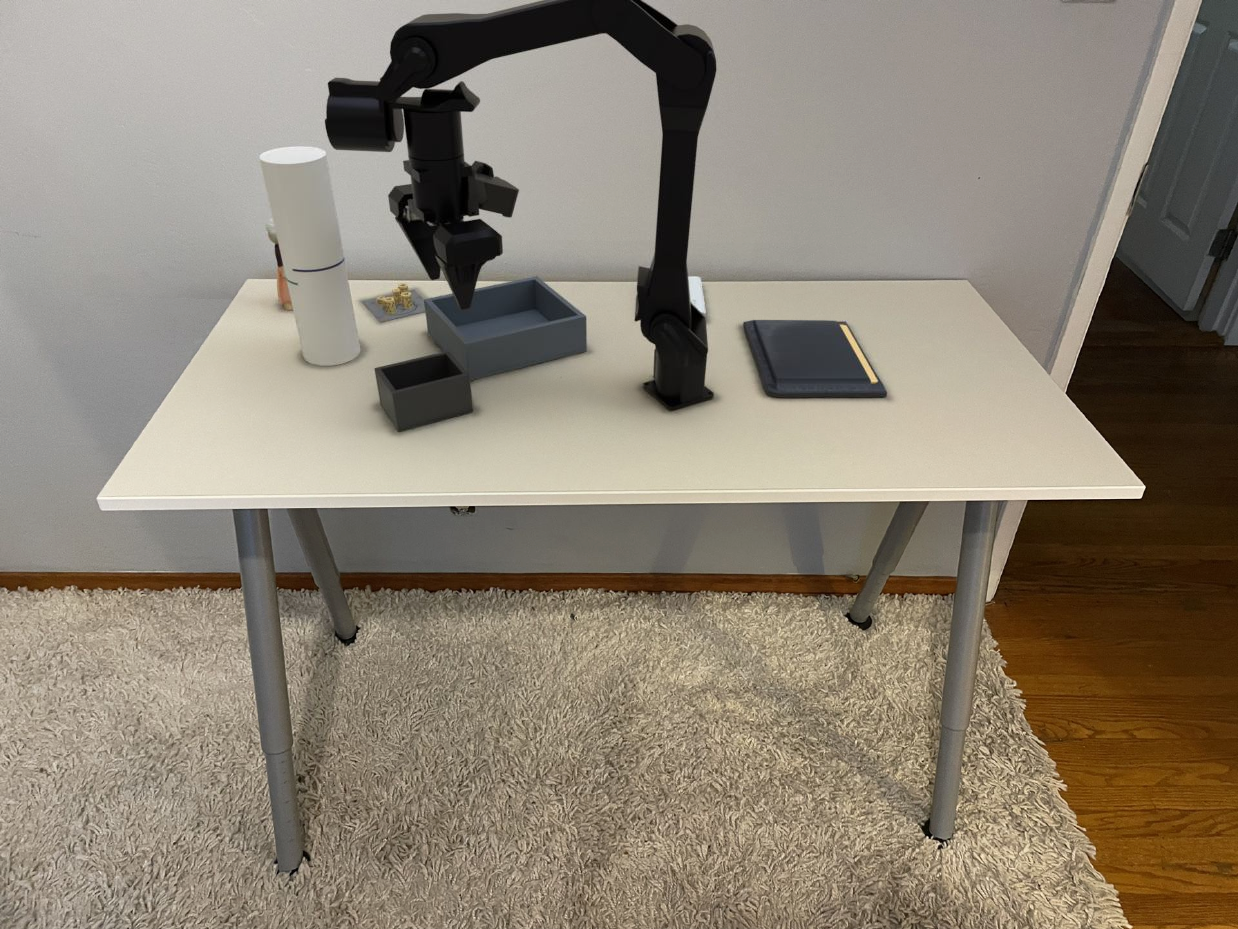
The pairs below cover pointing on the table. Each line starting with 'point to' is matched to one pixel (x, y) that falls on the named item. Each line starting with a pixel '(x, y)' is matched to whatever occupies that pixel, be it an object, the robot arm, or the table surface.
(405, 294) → the dice set
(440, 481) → the table surface
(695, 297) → the hard drive
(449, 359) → the black bin
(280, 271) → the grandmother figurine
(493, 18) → the robot arm
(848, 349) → the wallet
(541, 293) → the grey bin
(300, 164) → the cylindrical container
